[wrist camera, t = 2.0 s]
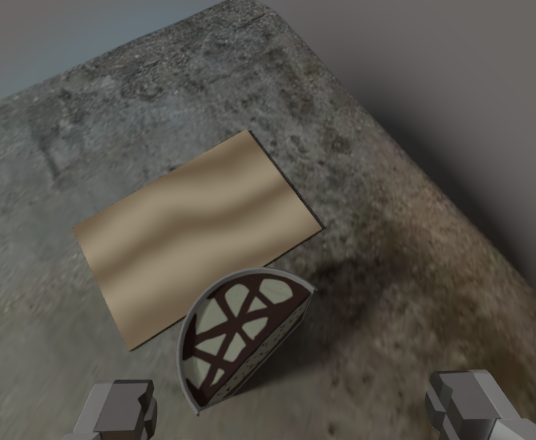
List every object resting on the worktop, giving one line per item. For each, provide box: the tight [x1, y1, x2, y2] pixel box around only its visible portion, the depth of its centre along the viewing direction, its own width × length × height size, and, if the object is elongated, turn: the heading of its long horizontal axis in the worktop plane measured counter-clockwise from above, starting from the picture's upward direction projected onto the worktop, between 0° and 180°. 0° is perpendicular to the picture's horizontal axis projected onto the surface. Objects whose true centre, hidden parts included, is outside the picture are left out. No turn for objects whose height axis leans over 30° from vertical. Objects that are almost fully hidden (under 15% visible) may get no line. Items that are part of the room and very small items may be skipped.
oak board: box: [72, 129, 322, 352], centre depth 41 cm, size 15×22×1 cm
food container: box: [177, 267, 318, 416], centre depth 32 cm, size 12×6×10 cm, turn 135°
